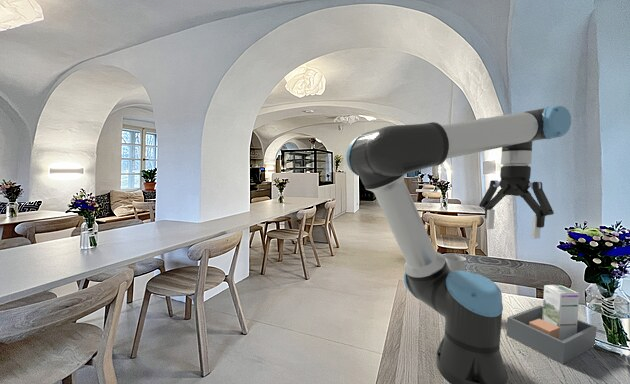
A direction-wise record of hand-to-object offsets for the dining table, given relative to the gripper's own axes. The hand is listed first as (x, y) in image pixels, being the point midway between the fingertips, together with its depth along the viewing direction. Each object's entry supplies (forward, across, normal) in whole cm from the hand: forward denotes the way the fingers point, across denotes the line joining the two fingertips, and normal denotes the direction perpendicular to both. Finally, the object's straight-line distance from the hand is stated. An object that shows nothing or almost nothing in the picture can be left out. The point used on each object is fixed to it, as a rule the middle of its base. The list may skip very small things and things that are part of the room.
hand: (511, 233), depth 84 cm
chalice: (+30, +16, +4) cm, 35 cm away
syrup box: (+29, -10, -8) cm, 32 cm away
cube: (+29, -10, -1) cm, 31 cm away
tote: (+30, -10, -4) cm, 32 cm away
